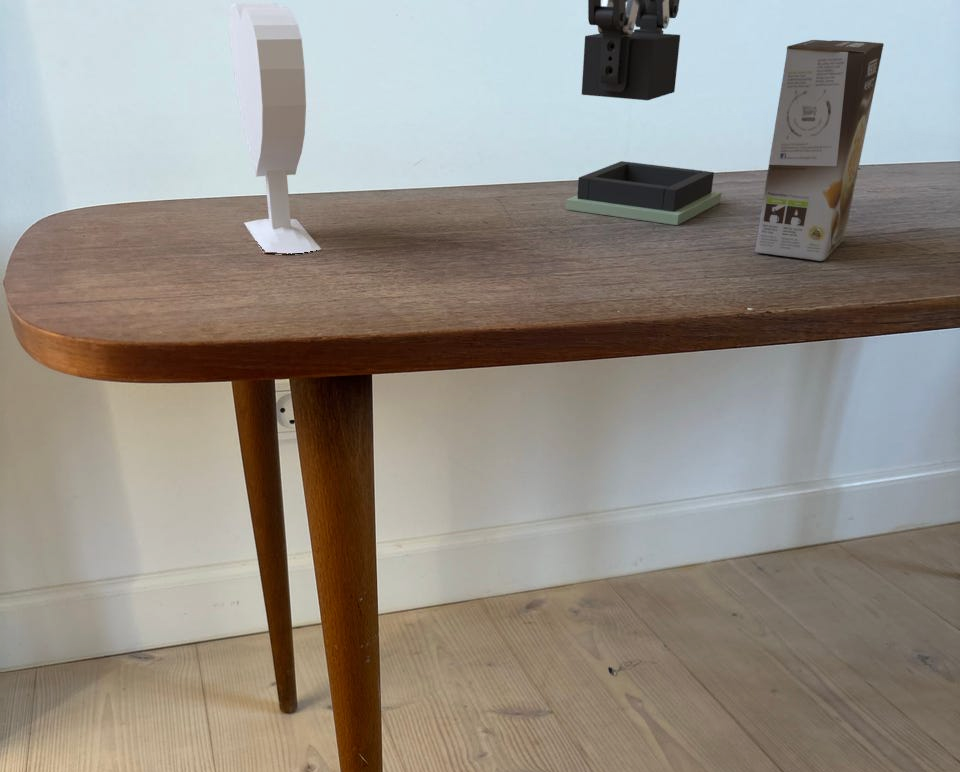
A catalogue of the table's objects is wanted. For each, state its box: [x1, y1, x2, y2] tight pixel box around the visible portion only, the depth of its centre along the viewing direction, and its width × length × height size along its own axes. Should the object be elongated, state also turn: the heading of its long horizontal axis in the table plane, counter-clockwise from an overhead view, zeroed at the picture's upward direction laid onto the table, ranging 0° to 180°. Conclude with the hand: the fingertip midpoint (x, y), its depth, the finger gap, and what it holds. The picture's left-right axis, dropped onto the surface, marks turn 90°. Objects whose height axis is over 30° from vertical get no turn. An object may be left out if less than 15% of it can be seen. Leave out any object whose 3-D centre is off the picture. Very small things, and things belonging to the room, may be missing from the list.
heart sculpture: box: [228, 2, 322, 254], centre depth 91 cm, size 16×5×18 cm, turn 19°
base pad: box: [565, 160, 722, 226], centre depth 107 cm, size 12×12×3 cm
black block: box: [581, 31, 681, 101], centre depth 82 cm, size 6×6×4 cm
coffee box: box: [754, 39, 885, 262], centre depth 91 cm, size 9×6×16 cm
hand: (629, 85), depth 83 cm, fingers closed on black block, 5 cm apart
